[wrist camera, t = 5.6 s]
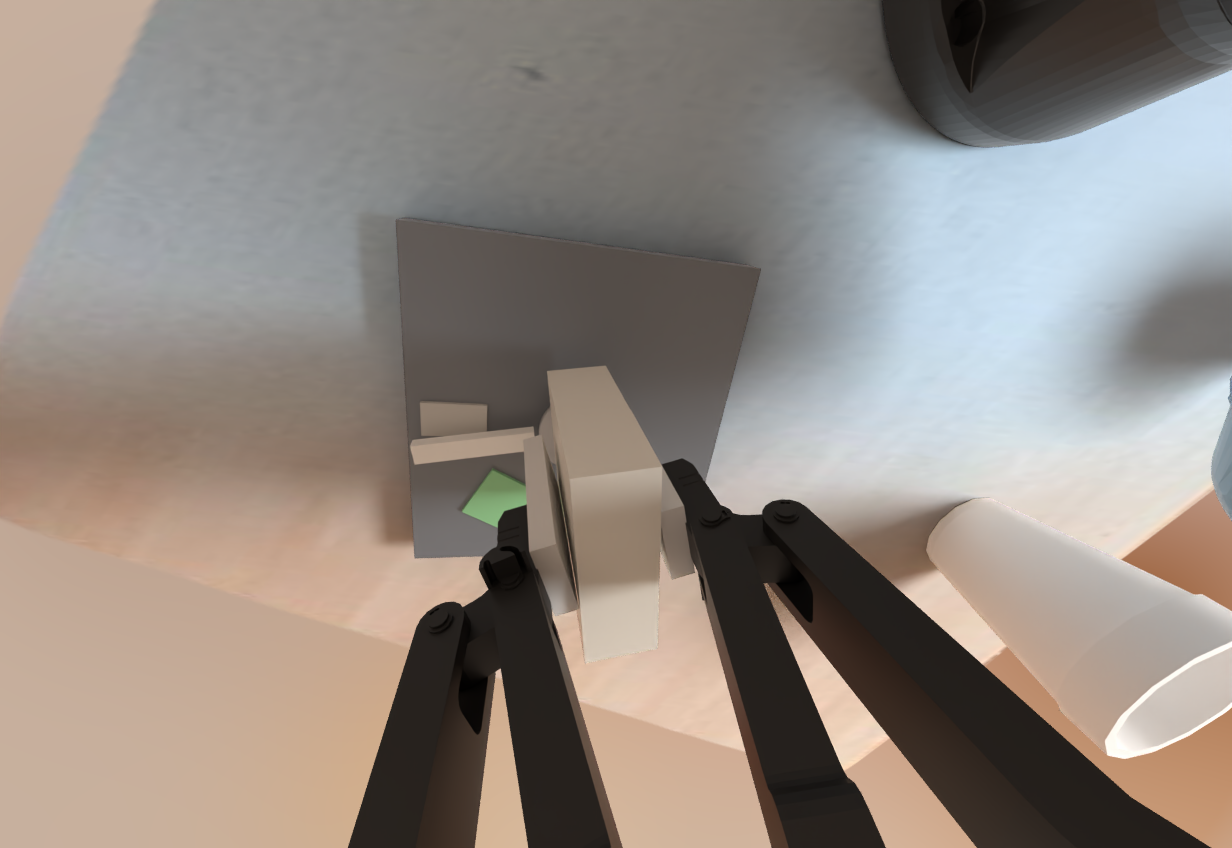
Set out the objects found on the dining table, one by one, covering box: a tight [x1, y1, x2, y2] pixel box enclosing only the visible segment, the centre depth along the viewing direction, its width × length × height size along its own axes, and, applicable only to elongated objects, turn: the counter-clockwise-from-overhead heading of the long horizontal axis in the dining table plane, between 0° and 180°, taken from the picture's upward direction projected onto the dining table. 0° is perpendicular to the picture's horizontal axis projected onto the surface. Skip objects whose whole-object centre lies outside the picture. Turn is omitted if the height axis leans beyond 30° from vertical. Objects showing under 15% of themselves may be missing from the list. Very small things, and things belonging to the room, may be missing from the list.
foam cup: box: [926, 498, 1232, 759], centre depth 29 cm, size 10×9×13 cm
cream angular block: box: [410, 366, 662, 663], centre depth 17 cm, size 7×9×10 cm
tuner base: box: [396, 218, 761, 558], centre depth 23 cm, size 16×15×2 cm
